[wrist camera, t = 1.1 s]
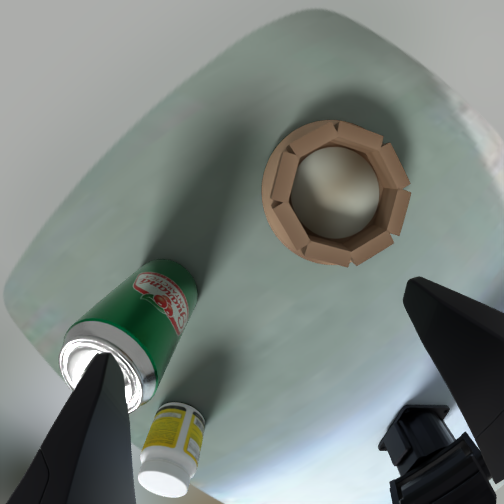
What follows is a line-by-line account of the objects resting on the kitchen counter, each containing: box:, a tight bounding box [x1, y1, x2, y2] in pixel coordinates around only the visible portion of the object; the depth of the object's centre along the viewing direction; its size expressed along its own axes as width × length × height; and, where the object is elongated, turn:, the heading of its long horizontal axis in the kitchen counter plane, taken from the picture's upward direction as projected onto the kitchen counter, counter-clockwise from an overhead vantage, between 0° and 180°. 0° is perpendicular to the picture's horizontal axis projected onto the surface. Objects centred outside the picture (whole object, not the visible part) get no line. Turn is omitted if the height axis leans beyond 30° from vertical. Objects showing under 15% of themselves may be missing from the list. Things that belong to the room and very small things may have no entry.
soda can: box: [59, 259, 198, 414], centre depth 18 cm, size 5×5×12 cm
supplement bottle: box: [138, 402, 205, 497], centre depth 22 cm, size 5×5×8 cm
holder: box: [262, 120, 411, 267], centre depth 20 cm, size 10×10×4 cm
